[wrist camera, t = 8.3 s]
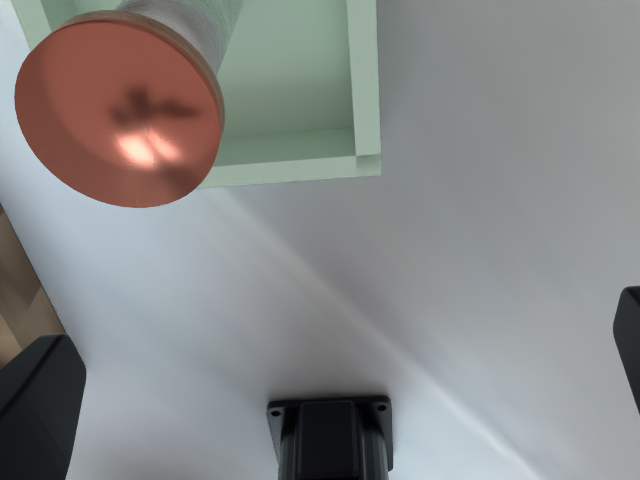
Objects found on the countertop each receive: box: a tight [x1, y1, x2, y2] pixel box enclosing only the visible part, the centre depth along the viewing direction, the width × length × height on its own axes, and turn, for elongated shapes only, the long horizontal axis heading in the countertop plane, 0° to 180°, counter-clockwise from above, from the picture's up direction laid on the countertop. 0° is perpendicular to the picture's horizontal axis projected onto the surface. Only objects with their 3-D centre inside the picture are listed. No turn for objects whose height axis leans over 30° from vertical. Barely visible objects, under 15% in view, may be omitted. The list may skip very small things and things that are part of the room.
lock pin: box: [14, 0, 245, 208], centre depth 14 cm, size 4×4×9 cm
